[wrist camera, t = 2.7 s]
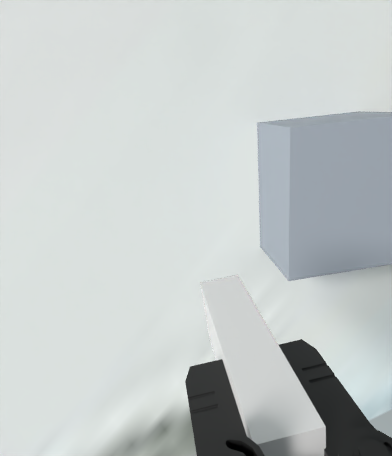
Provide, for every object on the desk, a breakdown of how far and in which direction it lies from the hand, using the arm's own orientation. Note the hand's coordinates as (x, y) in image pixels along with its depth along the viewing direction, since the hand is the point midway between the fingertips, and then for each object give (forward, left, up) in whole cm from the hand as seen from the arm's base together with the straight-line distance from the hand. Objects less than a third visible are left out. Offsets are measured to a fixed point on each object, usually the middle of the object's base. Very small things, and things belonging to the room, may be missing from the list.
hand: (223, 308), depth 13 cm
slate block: (0, +10, -14) cm, 17 cm away
